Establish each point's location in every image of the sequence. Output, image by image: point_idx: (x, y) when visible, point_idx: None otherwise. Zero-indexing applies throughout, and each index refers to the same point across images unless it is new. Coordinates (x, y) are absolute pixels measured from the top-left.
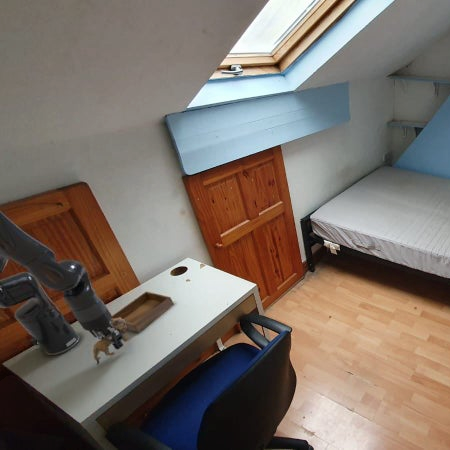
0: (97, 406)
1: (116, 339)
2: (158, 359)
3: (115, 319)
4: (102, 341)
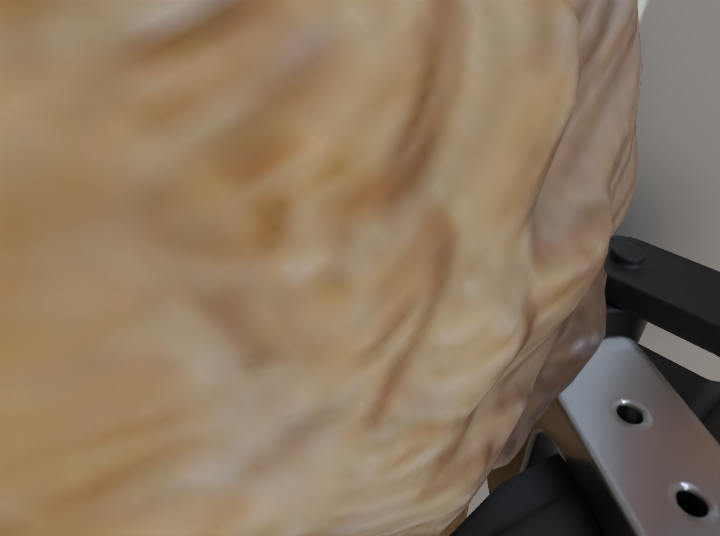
0: None
1: (711, 385)
2: (640, 4)
3: (393, 494)
4: (455, 526)
